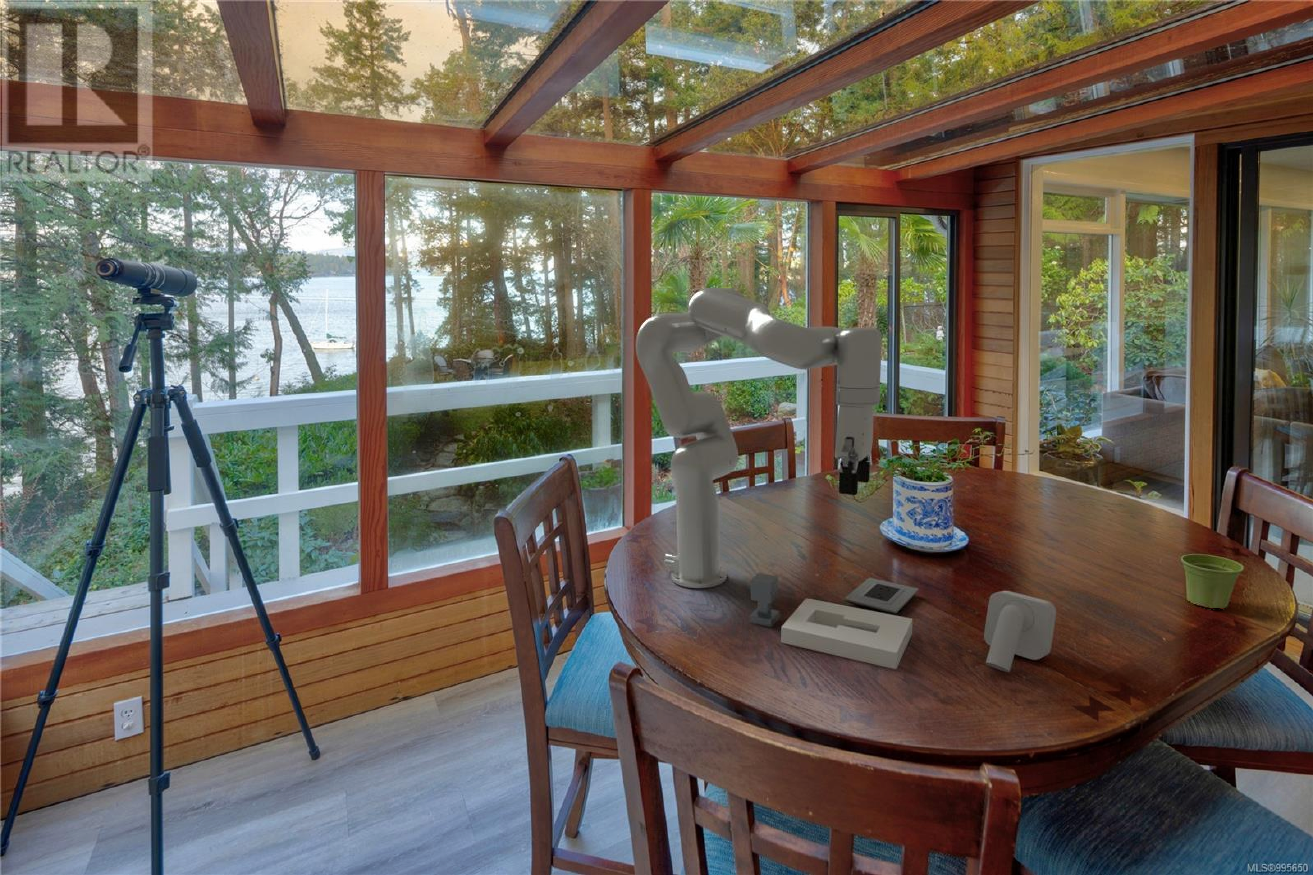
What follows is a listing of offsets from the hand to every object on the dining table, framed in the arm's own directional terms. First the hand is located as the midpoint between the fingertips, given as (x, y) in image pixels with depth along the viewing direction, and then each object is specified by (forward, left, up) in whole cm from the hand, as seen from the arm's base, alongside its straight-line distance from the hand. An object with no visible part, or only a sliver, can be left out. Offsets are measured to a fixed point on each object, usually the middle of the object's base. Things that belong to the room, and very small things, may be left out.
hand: (854, 487), depth 124 cm
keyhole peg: (-15, -8, -26) cm, 31 cm away
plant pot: (+59, +38, -27) cm, 75 cm away
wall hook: (+27, -3, -27) cm, 38 cm away
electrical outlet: (+3, +11, -27) cm, 29 cm away
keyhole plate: (+1, -8, -26) cm, 28 cm away
